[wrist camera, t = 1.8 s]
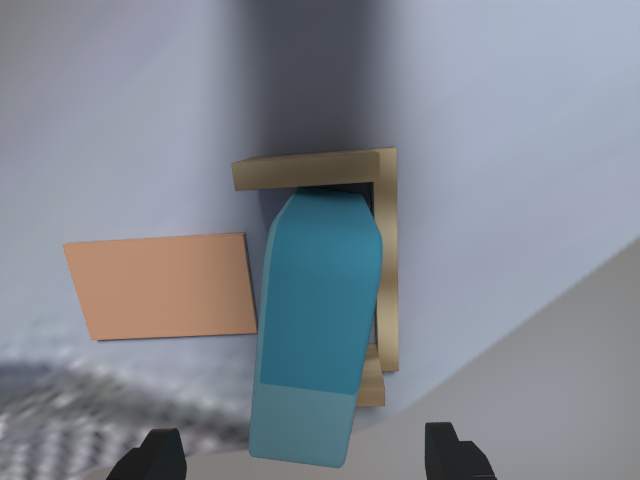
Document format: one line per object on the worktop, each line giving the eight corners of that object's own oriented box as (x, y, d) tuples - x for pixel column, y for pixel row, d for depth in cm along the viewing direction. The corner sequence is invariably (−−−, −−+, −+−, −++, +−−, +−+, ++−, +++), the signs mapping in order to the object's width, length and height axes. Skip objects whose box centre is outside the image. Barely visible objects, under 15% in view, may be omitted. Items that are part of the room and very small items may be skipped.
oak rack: (252, 157, 24) (231, 163, 19) (392, 146, 23) (408, 150, 18) (278, 362, 28) (267, 409, 24) (395, 358, 28) (408, 405, 23)
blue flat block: (338, 339, 28) (341, 486, 16) (282, 332, 28) (245, 473, 16) (362, 191, 24) (388, 243, 12) (298, 182, 24) (265, 227, 13)
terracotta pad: (68, 243, 26) (62, 245, 25) (244, 232, 25) (242, 234, 25) (96, 335, 28) (91, 340, 28) (258, 328, 27) (256, 332, 27)
